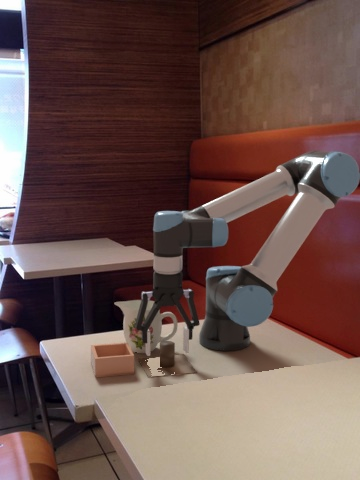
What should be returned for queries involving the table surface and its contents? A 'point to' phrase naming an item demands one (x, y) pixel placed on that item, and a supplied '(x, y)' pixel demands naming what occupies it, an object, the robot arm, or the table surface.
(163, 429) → the table surface
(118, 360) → the terracotta dish
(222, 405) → the table surface
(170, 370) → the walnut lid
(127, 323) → the pitcher
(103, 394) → the table surface
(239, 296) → the robot arm
